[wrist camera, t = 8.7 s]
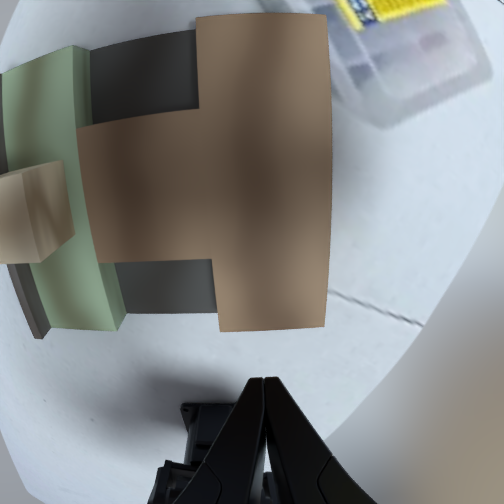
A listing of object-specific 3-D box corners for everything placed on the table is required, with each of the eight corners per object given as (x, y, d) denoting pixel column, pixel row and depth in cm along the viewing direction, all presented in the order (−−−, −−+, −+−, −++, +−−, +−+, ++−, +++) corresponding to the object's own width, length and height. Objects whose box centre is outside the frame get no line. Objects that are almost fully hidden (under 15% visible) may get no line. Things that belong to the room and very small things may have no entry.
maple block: (75, 234, 17) (40, 262, 13) (23, 238, 17) (-14, 264, 13) (62, 159, 15) (21, 173, 12) (9, 171, 15) (-32, 187, 12)
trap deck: (316, 27, 15) (333, 6, 11) (317, 305, 22) (329, 341, 18) (16, 78, 15) (-21, 77, 11) (57, 309, 22) (34, 338, 18)
